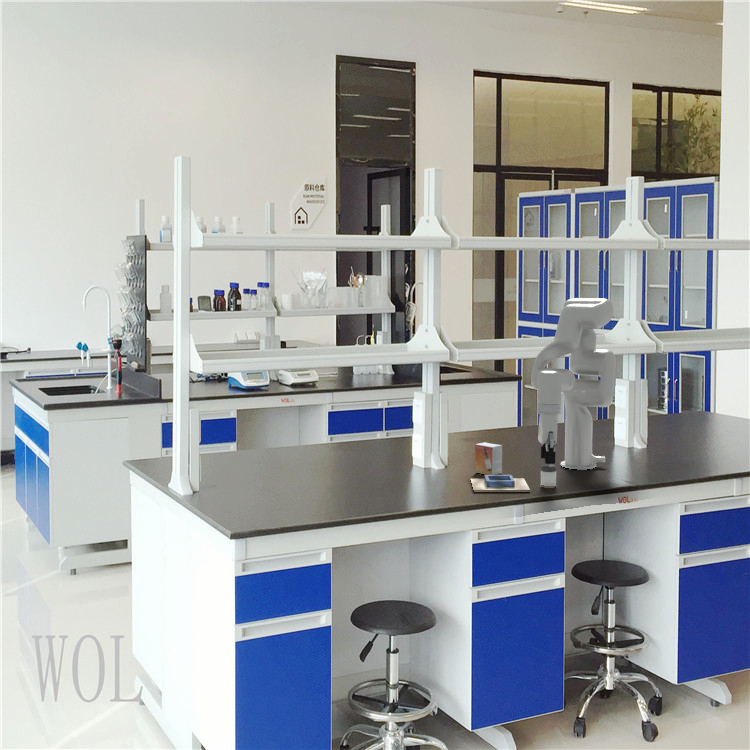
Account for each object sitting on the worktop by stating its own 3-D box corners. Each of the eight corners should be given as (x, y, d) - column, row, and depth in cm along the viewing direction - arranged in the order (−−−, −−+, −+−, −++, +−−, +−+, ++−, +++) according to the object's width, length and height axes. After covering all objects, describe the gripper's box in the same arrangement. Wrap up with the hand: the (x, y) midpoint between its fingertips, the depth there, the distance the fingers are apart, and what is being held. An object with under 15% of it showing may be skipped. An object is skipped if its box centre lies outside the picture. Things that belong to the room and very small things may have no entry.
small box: (474, 473, 344) (474, 444, 342) (484, 471, 348) (484, 441, 346) (492, 477, 338) (492, 447, 337) (502, 474, 342) (502, 444, 341)
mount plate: (523, 481, 332) (524, 472, 331) (529, 492, 316) (530, 483, 315) (470, 481, 332) (470, 472, 332) (473, 492, 316) (473, 483, 316)
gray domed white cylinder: (554, 485, 326) (555, 464, 325) (557, 488, 321) (557, 467, 320) (539, 485, 326) (539, 464, 325) (541, 488, 321) (541, 467, 320)
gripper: (533, 405, 329) (532, 456, 330) (541, 412, 312) (539, 465, 313) (556, 405, 329) (555, 456, 330) (564, 412, 311) (563, 466, 313)
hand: (547, 460), depth 322 cm, fingers open, 9 cm apart
